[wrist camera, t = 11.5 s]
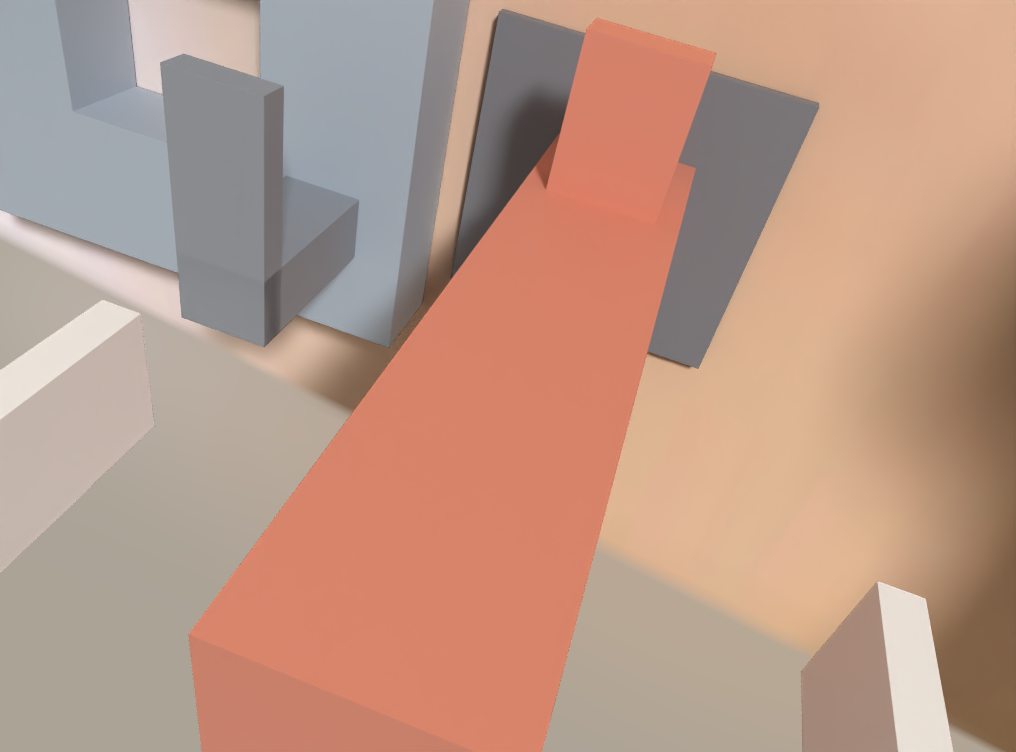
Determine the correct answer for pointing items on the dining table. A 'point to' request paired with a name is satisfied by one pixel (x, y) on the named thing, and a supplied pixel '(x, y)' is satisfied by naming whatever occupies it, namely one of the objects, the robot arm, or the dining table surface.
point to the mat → (708, 147)
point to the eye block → (243, 155)
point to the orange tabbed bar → (471, 460)
